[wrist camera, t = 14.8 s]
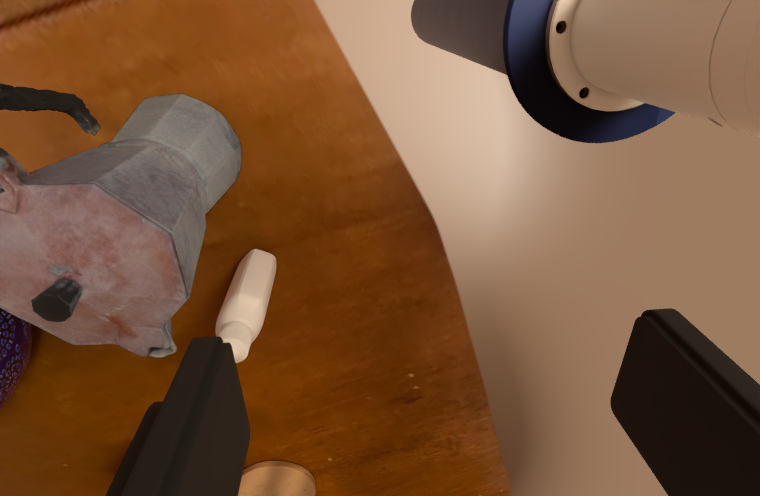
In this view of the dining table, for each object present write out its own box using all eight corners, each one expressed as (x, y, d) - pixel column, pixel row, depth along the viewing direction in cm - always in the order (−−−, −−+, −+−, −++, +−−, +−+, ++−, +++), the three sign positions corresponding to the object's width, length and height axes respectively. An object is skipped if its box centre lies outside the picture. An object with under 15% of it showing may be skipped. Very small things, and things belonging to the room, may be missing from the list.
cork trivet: (312, 457, 54) (312, 463, 53) (319, 507, 58) (318, 513, 58) (227, 463, 53) (226, 469, 52) (241, 514, 58) (240, 520, 57)
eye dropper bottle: (216, 273, 41) (172, 366, 30) (262, 240, 40) (233, 324, 29) (249, 304, 43) (219, 401, 32) (294, 273, 42) (278, 363, 31)
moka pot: (193, 248, 40) (74, 440, 22) (58, 86, 33) (-275, 176, 15) (285, 200, 38) (237, 364, 20) (164, 19, 31) (-66, 33, 14)
